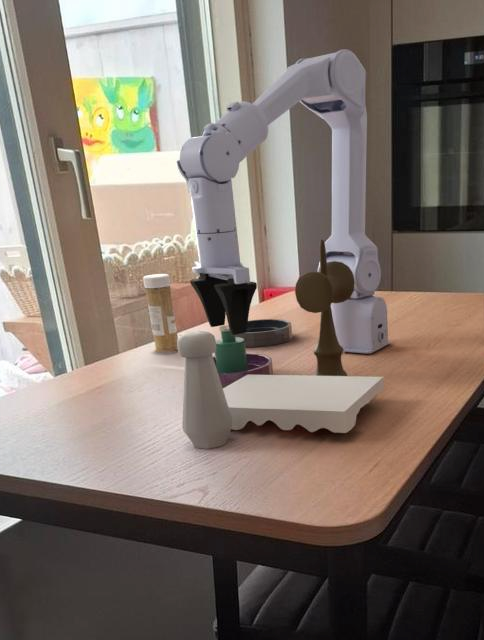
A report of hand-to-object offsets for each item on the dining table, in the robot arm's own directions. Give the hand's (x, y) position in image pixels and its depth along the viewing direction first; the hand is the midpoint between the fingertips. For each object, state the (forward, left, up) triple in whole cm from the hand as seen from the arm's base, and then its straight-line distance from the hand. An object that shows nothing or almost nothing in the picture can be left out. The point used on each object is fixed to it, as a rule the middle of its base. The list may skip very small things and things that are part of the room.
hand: (227, 329), depth 103 cm
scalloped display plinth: (-17, +10, -8) cm, 21 cm away
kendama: (-14, -5, -8) cm, 17 cm away
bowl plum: (0, 0, -8) cm, 8 cm away
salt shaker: (-13, +22, -8) cm, 27 cm away
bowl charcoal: (+12, -24, -8) cm, 28 cm away
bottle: (0, 0, -8) cm, 8 cm away
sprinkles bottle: (+25, -13, -8) cm, 29 cm away
